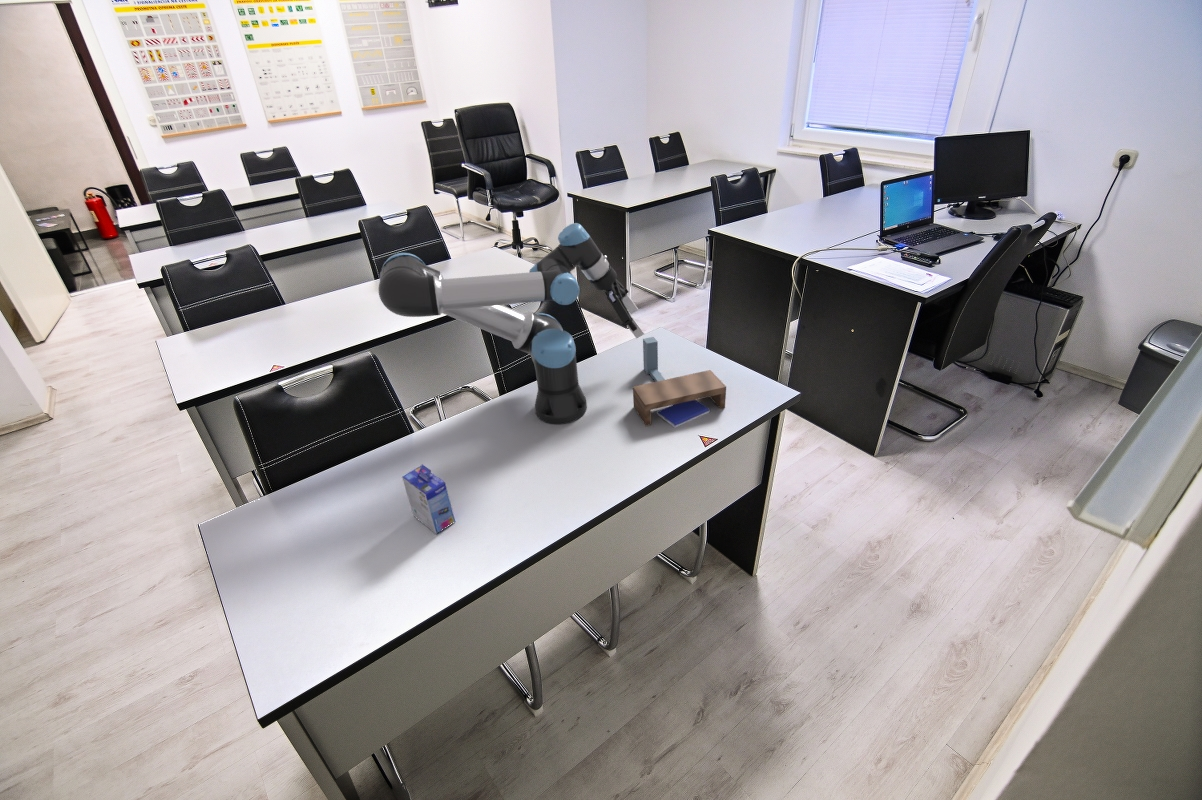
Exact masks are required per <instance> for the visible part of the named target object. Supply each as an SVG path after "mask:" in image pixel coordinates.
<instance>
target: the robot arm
mask: <svg viewBox="0 0 1202 800" xmlns="http://www.w3.org/2000/svg"><path fill="white" fill-rule="evenodd" d="M557 240H558V242H559V244H558V246H556V247H555V248H554V249H553V250H551V251H550V252H549V253H548V254H546V255H545V256H544V257H543V258H541V259H540V260H538V261H537V262H536V263H535V264H534V265H532V267H531V268H530V269H529V272H519V273H518V272H517V273H508V274H507V273H504V274H494V275H481V276H479V275H478V276H468V277H467V276H465V277H458V278H457V277H455V278H444V276H443V274H442V272H441V271H440V270H437V269H435V268H433V267H430V266H428V265H426V263H425V262H424V261H423V260H422V259H421V258H420V257H418V256H417V255H415V254H412V253H410V252H400V253H399V252H398V253H396V254H393V255H391V256H389V257H388V258H387V259H386V261H384V262H383V265H382V267H381V269H380V272H379V284H378V296H379V299H380V301H381V304H383V306H384V307H385V308H386V309H387V310H388V311H390V312H391V313H393V314H395V315H397V316H401V317H409V318H415V317H416V318H419V317H420V318H421V317H422V318H423V317H433V316H436V317H437V316H441V315H446V316H448V317H451V318H452V319H453V318H454V319H456V320H459V321H461V322H462V323H466V324H468V325H471V326H473V327H476V328H478V329H481V330H484V331H485V332H488V333H490V334H493V335H495V336H497V337H501V338H503V339H505V340H508V341H511V343H512V345H513V347H514V349H517V350H518V351H521V352H524V353H526V354H529V356H530V357H531V361H532V362H533V364H534V365H533V366H534V370H535V376H536V383H537V393H536V398H535V400H534V401H535V402H534V411H535V415H536V417H537V418H538V419H539V420H540V421H543V422H545V423H548V424H552V425H553V424H554V425H561V424H568V423H571V422H574V421H576V420H578V419H580V418H581V417H583V416H584V415H585V414H586V412H587V409H588V404H587V403H588V402H587V398H586V396H585V393H584V392H583V389H582V388H581V386H580V384H579V374H578V366H577V356H576V355H577V354H576V352H577V351H576V350H577V349H576V348H577V347H576V344H575V341H574V340H575V339H574V338H573V336H572V335H571V333H569V332H568V331H566V330H564V329H563V327H562V325H561V324H560V322H559V321H558V320H557V319H556V318H555V317H554V316H552V315H550V314H547V313H542V312H541V313H535V312H533V311H530V310H529V311H528V310H527V311H526V312H524V313H522V312H520V311H517V310H515V309H512V308H510V307H508V306H506V305H516V304H517V305H518V304H528V303H529V304H530V303H537V302H548V301H549V302H550V301H554V302H555V303H557V304H558V305H561V306H568V305H571V304H573V303H574V302H575V301H576V300H577V299H578V297H579V294H580V291H581V290H580V286H579V283H578V281H577V278H576V277H575V276H574V275H573V274H572V271H573V270H574V269H576V268H577V267H578V268H579V269H580V270H581V272H582V274H584V277H585V278H586V279H587V280H588V281H589V282H590V284H591V285H592V286H593V288H594V289H595V290H597V291H605V295H606V299H607V301H608V302H609V303H610V304H611V306H612V307H613V309H614V311H615V312H616V314H617V316H618V317H619V319H620V322H622V326H623V327H627V328H628V329H629V330H630V332H631V333H632V334H633V336H634V337H635V339H639V338H640V337H642V336H644V335H645V332H644V331H643V329H642V328H641V326H640V325H639V324H638V322H637V321H636V320H635V319H634V317H632V316H631V315H633V314H635V313H636V312H638V311H639V308H638V307H637V305H636V303H634V301H633V299H632V298H631V297H630V296H629V290H628V289H627V288H626V289H625V286H624V285H623V284H622V283H621V282H620V281H619V280H618V279H617V278H618V274H617V271H616V270H615V269H614V268H613V266H612V265H611V264H610V263H609V261H608V259H607V258H608V256H607V255H603V253H602V251H601V250H600V249H599V247H598V246H597V244H596V243H595V241H594V239H592V237H591V235H590V234H589V233H588V232H587V231H586V229H585V228H584V227H583V225H581V224H580V223H578V222H575V223H574V222H573V223H571V224H568V225H567V226H565V227H564V228H563V229H562V231H561V232H559V233H558V236H557Z"/></svg>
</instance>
